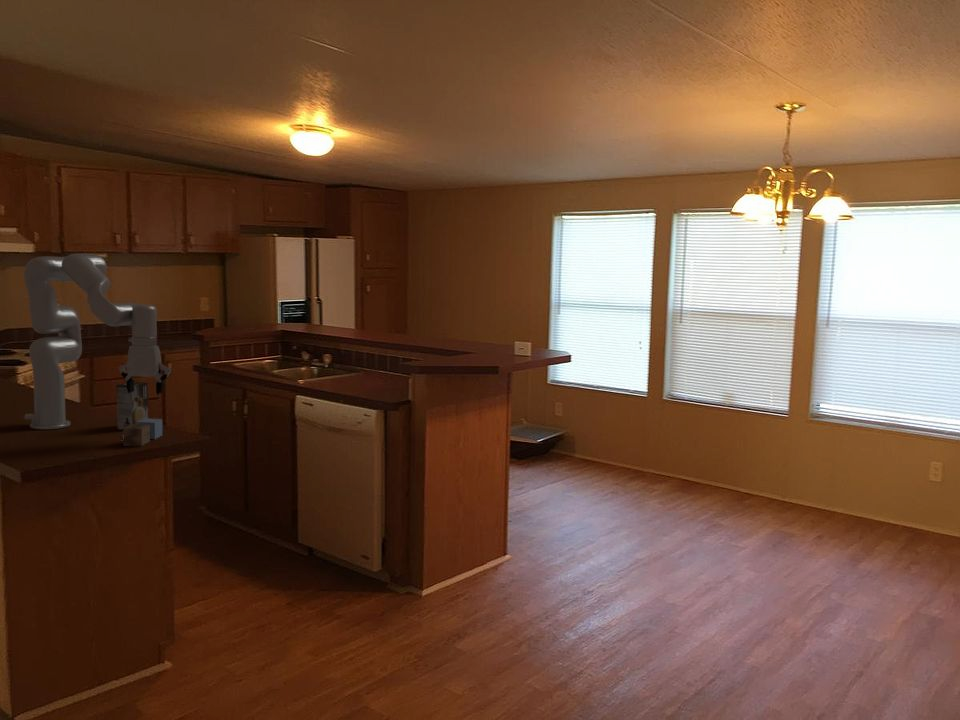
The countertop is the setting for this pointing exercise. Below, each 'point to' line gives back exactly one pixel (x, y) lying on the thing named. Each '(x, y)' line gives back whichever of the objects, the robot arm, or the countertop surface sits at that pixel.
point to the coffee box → (132, 404)
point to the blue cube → (153, 427)
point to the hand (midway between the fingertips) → (145, 392)
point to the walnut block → (136, 435)
